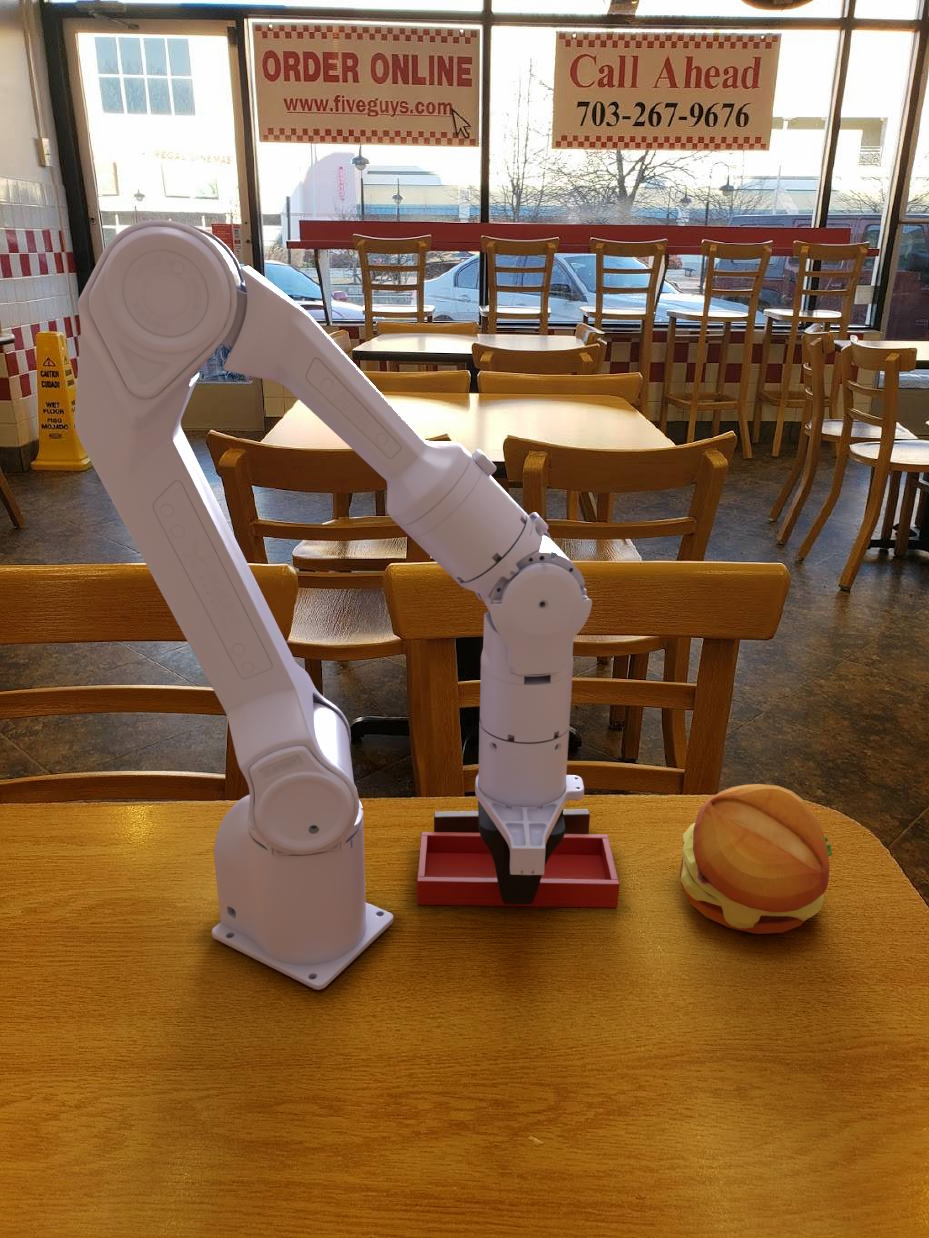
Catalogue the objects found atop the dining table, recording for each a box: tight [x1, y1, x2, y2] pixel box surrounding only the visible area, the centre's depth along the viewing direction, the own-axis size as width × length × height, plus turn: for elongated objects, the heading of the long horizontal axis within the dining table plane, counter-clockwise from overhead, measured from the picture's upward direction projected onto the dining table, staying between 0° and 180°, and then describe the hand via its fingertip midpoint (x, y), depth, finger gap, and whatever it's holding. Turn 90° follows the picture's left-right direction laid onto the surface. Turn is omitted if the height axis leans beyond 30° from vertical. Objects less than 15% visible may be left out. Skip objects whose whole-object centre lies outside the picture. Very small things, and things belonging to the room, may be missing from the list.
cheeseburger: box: [679, 783, 833, 935], centre depth 65 cm, size 10×11×10 cm
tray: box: [416, 831, 620, 909], centre depth 68 cm, size 6×14×2 cm, turn 90°
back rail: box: [433, 808, 591, 834], centre depth 73 cm, size 1×12×2 cm, turn 93°
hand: (517, 898), depth 65 cm, fingers closed
